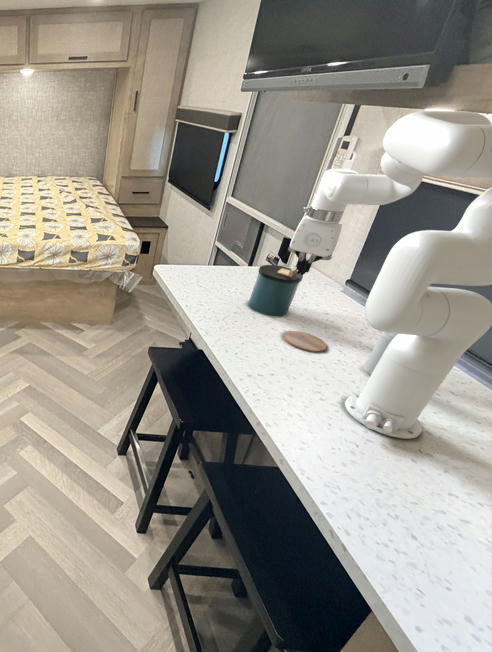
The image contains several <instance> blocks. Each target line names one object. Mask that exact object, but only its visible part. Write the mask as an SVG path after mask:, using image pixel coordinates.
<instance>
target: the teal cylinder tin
mask: <svg viewBox="0 0 492 652" xmlns="http://www.w3.org/2000/svg"><path fill="white" fill-rule="evenodd" d="M282 268H283V269H287V270H291V269H292V268H290V267H287V266H283V265H278V264H277V265H276V264H264V265H261V266H259V268H258V271H257V272H258V274H257V277H256V279H255V283H254V286H253V289H252V291H251V294H250V297H249V300H248V303H247V305H248V307H249V308H250V309H251V310H252V311H254V312H256V313H258V314H260V315H263V316H269V317H274V318H275V317H276V318H277V317H278V318H279V317H285V316H286V315H287V314H288V312H289V310H290V308H291V304H292V302H293V299H294V297H295V295H296V292H297V290H298V288H299V285H300V283H301V282H303V281H302V280H303V278H304V275H301V274H297V272H298V270H297V272H296V274H295V275H294V276H292V277H288V276H285V275H281V274H278V273H277V272H278V271H279V270H280V269H282Z"/></svg>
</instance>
